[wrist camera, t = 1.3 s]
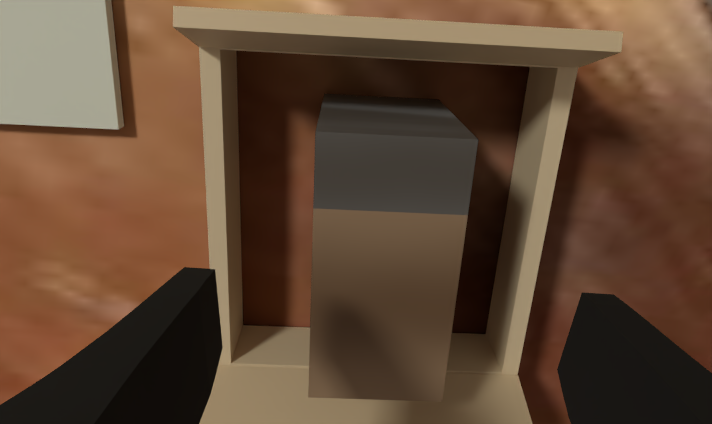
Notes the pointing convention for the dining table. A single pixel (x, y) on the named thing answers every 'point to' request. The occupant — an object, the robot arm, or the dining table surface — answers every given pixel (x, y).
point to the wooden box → (520, 231)
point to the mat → (59, 64)
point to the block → (386, 245)
